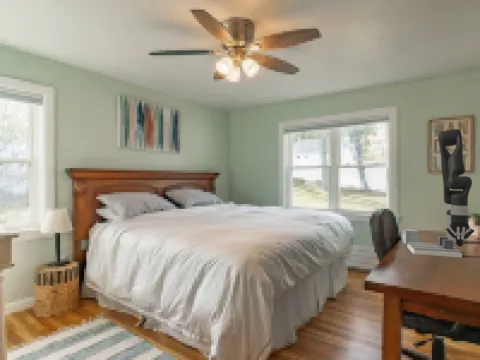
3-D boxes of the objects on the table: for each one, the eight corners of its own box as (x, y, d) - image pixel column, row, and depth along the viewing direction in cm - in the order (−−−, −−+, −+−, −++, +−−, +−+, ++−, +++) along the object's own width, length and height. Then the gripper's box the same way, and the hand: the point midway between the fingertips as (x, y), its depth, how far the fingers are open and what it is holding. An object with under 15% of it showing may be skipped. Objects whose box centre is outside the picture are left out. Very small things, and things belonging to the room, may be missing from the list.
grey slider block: (442, 249, 157) (442, 239, 157) (451, 250, 155) (451, 239, 155) (444, 250, 154) (444, 240, 154) (453, 251, 153) (453, 240, 153)
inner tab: (438, 246, 164) (438, 236, 164) (446, 246, 163) (446, 236, 163) (439, 247, 162) (439, 237, 161) (448, 247, 160) (448, 237, 160)
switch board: (407, 247, 172) (407, 241, 172) (450, 250, 164) (450, 244, 164) (413, 254, 157) (413, 247, 157) (462, 257, 149) (461, 250, 149)
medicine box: (415, 243, 182) (415, 229, 182) (419, 244, 178) (419, 230, 178) (402, 242, 183) (402, 229, 183) (405, 244, 179) (405, 230, 179)
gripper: (471, 213, 154) (471, 245, 154) (442, 212, 158) (442, 243, 158) (477, 215, 147) (477, 248, 147) (447, 214, 151) (447, 247, 151)
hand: (459, 246), depth 153 cm, fingers closed
